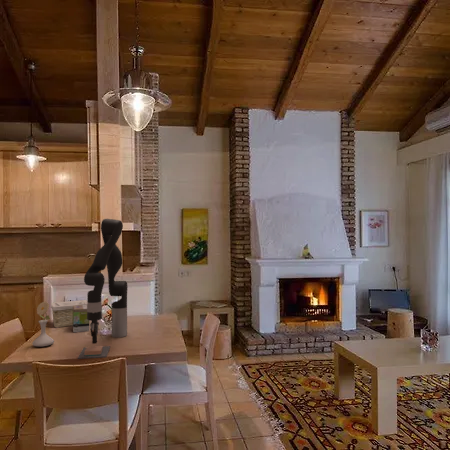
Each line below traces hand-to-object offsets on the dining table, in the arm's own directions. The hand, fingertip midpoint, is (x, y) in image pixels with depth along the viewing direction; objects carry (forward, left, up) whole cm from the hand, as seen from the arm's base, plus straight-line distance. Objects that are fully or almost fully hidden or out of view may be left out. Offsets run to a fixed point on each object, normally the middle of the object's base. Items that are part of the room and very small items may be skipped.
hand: (94, 343), depth 218 cm
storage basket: (-71, -26, -5) cm, 76 cm away
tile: (-1, 0, -3) cm, 3 cm away
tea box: (-54, -16, -5) cm, 57 cm away
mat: (0, 0, -5) cm, 5 cm away
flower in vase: (-19, -30, -5) cm, 36 cm away
